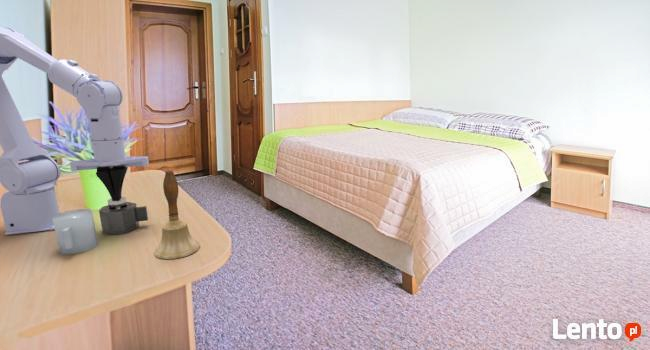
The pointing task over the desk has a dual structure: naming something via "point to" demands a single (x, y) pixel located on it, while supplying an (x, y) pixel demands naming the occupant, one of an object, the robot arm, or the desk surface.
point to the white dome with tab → (75, 231)
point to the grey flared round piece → (117, 203)
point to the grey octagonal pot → (122, 218)
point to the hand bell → (174, 226)
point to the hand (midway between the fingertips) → (117, 199)
